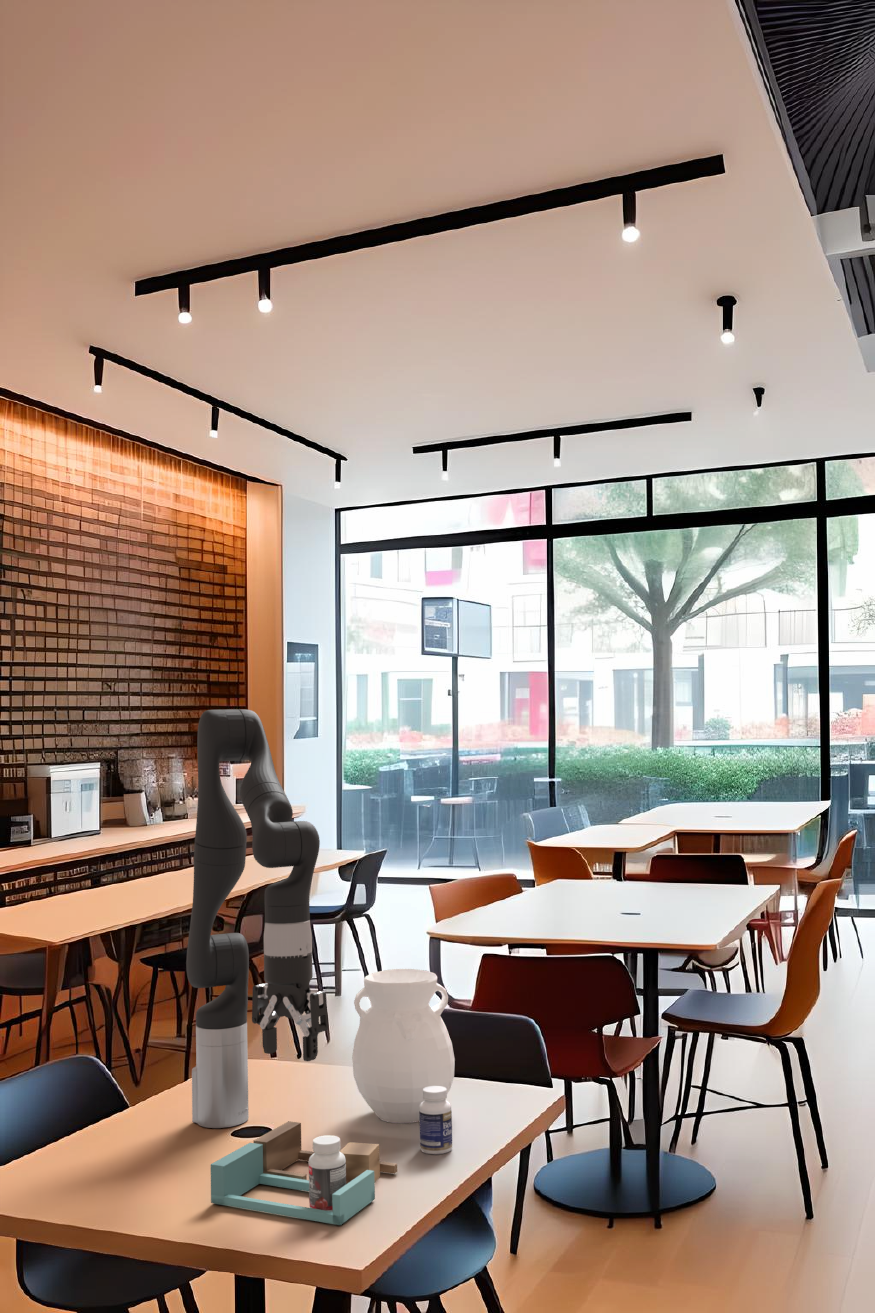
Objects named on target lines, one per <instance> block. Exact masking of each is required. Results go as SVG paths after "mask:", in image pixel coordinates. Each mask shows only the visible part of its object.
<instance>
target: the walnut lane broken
mask: <svg viewBox="0 0 875 1313" xmlns="http://www.w3.org/2000/svg"><path fill="white" fill-rule="evenodd" d="M252 1143H256V1144H263V1173H265V1174H271V1175H278V1176H284V1177H290V1178H297V1179H303V1180H308V1179H307V1174H305V1173H300V1172H295V1171H287V1170H284V1169H286V1168H287V1167H289V1166H291V1165H292V1164H293V1163H296V1162H297V1161H304V1162H309V1158H310V1156H311V1155H312V1154H314V1153H315V1152H314V1151H313V1150H312V1151H310V1150H304V1149H302V1122H299V1121H298V1122H297V1121H287V1122H284V1123H283V1124H280V1125H279V1126H277V1127H275V1128H273V1129H272V1130H269V1131H268V1132H266V1133H265V1134H263V1135H261V1136H259V1137H257V1138H256V1139H254V1140H253V1142H252ZM380 1173H385V1174H386V1173H387V1174H396V1173H398V1163H395V1162H388V1161H382V1160H380ZM349 1182H350V1181H347V1180H346V1184H348V1183H349Z"/></svg>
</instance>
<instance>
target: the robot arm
mask: <svg viewBox="0 0 875 1313" xmlns="http://www.w3.org/2000/svg"><path fill="white" fill-rule="evenodd" d="M196 740H197V743H196V744H197V748H196V749H197V810H196V825H195V835H194V848H193V849H194V852H193V889H192V890H193V892H192V908H191V914H190V922H189V923H190V924H189V933H188V939H187V948H186V949H187V950H186V962H185V964H186V966H185V967H186V976H187V980H188V982H189V984H190V985H191V986H192V987H193V988H195V989H205V988H214V987H215V988H216V987H224V986H225V987H224V989H223V991H222V992H221V993H220V994H219V995H218V996H216V997H215V998H214V999H212V1000H211V1001H209V1002H207V1003H205V1004H203V1005H201V1006H200V1007H198V1009H197V1010H196V1013H195V1043H196V1044H195V1049H196V1050H195V1051H196V1052H195V1053H196V1057H195V1058H196V1062H195V1064H196V1065H195V1066H194V1067H192V1069H191V1109H192V1110H191V1114H192V1119H191V1121H192V1122H191V1123H195V1124H197V1125H199V1126H200V1127H203V1128H207V1129H208V1128H212V1129H221V1128H231V1127H235V1126H239V1125H241V1124H243V1123H245V1122H247V1121H249V1117H250V1116H249V1067H248V1066H249V1065H248V1064H249V1061H248V1059H249V1058H248V1057H249V1056H248V1007H249V1006H248V1005H249V1003H248V1002H249V1000H248V999H249V997H248V996H249V995H248V994H249V993H248V992H249V969H250V968H249V967H250V965H249V964H250V961H249V960H250V955H249V954H250V953H249V952H250V951H249V946H248V942H247V939H246V937H245V935H243V934H242V933H239V932H230V933H229V932H228V933H219V934H212V930H213V925H214V922H215V920H216V917H217V914H218V912H219V911H220V908H221V907H222V905H223V904H224V902H225V900H226V899H227V898H228V897H229V895H230V893H231V892H232V890H233V889H234V888H235V886H236V885H237V883H238V882H239V880H240V878H241V876H242V874H243V872H244V870H245V868H246V867H245V866H246V857H247V855H246V854H247V841H248V839H247V838H248V837H247V834H248V833H247V829H246V826H245V823H244V822H243V820H242V818H241V816H240V814H239V813H238V811H237V809H236V808H235V807H234V805H233V803H232V802H231V801H230V799H229V797H228V795H227V793H226V791H225V789H224V785H223V783H222V780H221V773H220V763H221V762H234V761H237V762H238V761H239V762H240V761H246V760H247V761H249V762H250V765H249V767H248V769H247V771H246V773H245V775H244V776H243V778H242V781H241V785H240V794H239V795H240V799H241V800H240V801H241V803H242V805H243V808H244V810H245V812H246V814H247V816H248V817H247V818H248V819H249V821H250V825H251V826H250V827H251V834H252V841H251V842H252V843H251V844H252V846H251V847H252V850H251V851H252V855H253V859H254V860H255V862H257V863H258V864H259V865H260V866H261V867H264V868H266V869H267V868H268V869H276V868H277V869H278V868H288V867H289V868H291V867H292V869H291V872H290V874H289V875H288V877H286V878H284V879H283V880H280V881H277V882H274V883H272V884H271V883H270V884H268V885H267V887H266V888H265V889H264V929H263V930H264V931H263V976H264V977H263V980H264V981H265V983H260V984H257V985H253V987H252V998H251V999H252V1002H251V1022H252V1024H254V1025H255V1024H257V1025H259V1026H260V1029H261V1030H262V1032H261V1033H262V1035H261V1036H262V1037H261V1039H262V1042H261V1043H262V1049H263V1052H264V1054H266V1055H267V1054H268V1055H269V1054H270V1055H271V1054H273V1053H276V1052H277V1050H278V1037H277V1036H278V1034H277V1032H278V1029H277V1026H276V1025H277V1023H278V1022H279V1021H280V1018H282V1017H286V1018H288V1019H293V1021H294V1023H295V1024H296V1025H297V1026H299V1028H300V1029H301V1031H302V1033H303V1035H304V1036H302V1058H303V1061H304V1062H312V1061H315V1060H316V1059H317V1056H318V1054H319V1049H318V1047H319V1046H318V1041H319V1040H318V1036H319V1034H320V1033H323V1032H326V1031H328V1030H329V1020H328V1019H329V1018H328V1016H329V1015H328V1001H327V992H326V991H325V990H319V991H312V990H311V987H310V982H311V981H312V979H313V935H312V929H311V914H310V912H311V911H310V909H311V908H310V896H311V895H310V893H311V887H312V886H311V885H312V881H313V877H314V872H315V867H316V863H317V861H318V860H317V859H318V856H319V852H320V845H321V842H320V835H319V833H318V829H317V828H316V827H315V826H314V824H312V823H311V822H309V821H307V820H299V821H292V820H293V817H294V816H293V815H294V814H293V812H294V811H293V807H292V804H291V802H290V801H289V799H288V796H287V794H286V792H285V791H284V788H283V787H282V784H281V783H280V780H279V777H278V774H277V773H276V769H275V765H274V761H273V760H274V759H273V757H272V753H271V749H270V745H269V741H268V738H267V735H266V731H265V727H264V725H263V722H262V720H261V718H260V717H259V715H258V713H256V712H255V711H254V710H251V709H247V708H246V709H240V708H239V709H237V708H236V709H235V708H233V709H232V708H231V709H230V708H229V709H208V710H205V711H203V712H202V713H201V715H200V717H199V720H198V726H197V739H196ZM304 1013H305V1014H304Z"/></svg>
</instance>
